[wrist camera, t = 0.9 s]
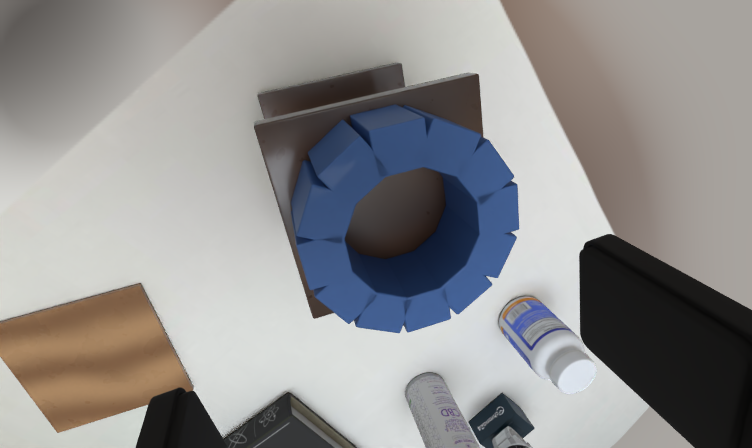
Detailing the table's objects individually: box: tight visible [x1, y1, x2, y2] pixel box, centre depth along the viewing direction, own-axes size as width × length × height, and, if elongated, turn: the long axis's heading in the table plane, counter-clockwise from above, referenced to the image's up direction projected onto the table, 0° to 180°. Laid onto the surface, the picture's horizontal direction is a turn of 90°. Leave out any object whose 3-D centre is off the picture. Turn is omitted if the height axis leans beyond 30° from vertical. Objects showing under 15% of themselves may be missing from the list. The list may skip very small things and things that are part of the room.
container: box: [405, 373, 480, 448], centre depth 41 cm, size 5×5×15 cm
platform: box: [254, 63, 483, 319], centre depth 28 cm, size 11×11×14 cm
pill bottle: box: [499, 296, 597, 394], centre depth 42 cm, size 5×5×10 cm
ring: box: [291, 105, 519, 333], centre depth 20 cm, size 10×10×4 cm
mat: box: [0, 284, 193, 433], centre depth 36 cm, size 12×12×1 cm
